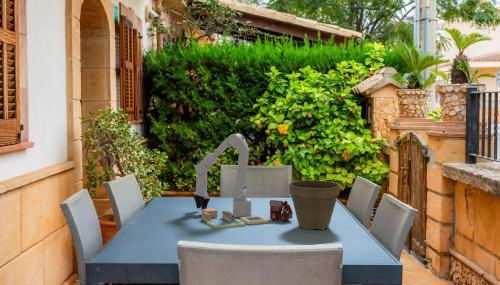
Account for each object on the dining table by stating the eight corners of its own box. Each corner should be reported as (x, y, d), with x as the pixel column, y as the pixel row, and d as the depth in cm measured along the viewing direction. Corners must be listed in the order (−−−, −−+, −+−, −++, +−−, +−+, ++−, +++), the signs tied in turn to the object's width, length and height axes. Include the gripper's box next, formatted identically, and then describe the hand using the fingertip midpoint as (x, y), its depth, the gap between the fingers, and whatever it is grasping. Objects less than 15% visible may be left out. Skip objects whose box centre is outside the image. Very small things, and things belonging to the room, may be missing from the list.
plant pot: (305, 235, 258) (307, 188, 257) (278, 224, 280) (279, 181, 279) (348, 230, 270) (350, 186, 268) (319, 220, 292) (321, 179, 290)
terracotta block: (212, 215, 298) (212, 208, 298) (217, 217, 293) (217, 210, 292) (202, 216, 295) (202, 209, 295) (206, 218, 290) (206, 211, 290)
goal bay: (235, 221, 284) (235, 219, 284) (245, 225, 275) (245, 223, 275) (206, 223, 277) (206, 221, 277) (215, 228, 267) (215, 226, 267)
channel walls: (224, 217, 293) (225, 210, 292) (231, 220, 285) (231, 213, 285) (202, 219, 287) (202, 212, 286) (208, 222, 280) (208, 215, 279)
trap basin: (259, 219, 291) (259, 215, 290) (268, 223, 282) (268, 219, 282) (240, 220, 286) (240, 217, 285) (249, 224, 277) (249, 221, 277)
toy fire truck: (289, 222, 284) (290, 202, 283) (267, 220, 289) (267, 200, 288) (293, 220, 291) (294, 200, 290) (271, 217, 295) (271, 198, 294)
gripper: (189, 183, 308) (189, 207, 309) (199, 187, 295) (199, 212, 296) (201, 182, 311) (201, 206, 312) (212, 186, 298) (211, 211, 299)
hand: (201, 209), depth 305 cm, fingers open, 7 cm apart
